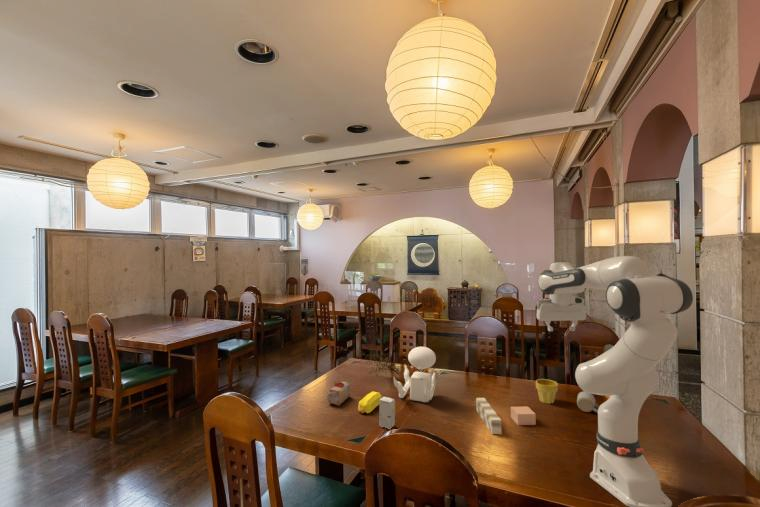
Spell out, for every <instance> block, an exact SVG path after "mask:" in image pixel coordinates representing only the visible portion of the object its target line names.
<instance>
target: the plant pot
mask: <svg viewBox="0 0 760 507" xmlns="http://www.w3.org/2000/svg"><path fill="white" fill-rule="evenodd" d="M535 389H537V394H538V399H539V401H540V402H541V403H543V404H547V405H548V404H551V403H552V404H554V403H555V399H556V394H557V392H558V389H559V384H558V382H557V381H556V380H555V381H554V380H551V379H545V378H538V379H536V380H535ZM552 404H551V405H552Z"/></svg>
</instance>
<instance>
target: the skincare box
mask: <svg viewBox="0 0 760 507" xmlns="http://www.w3.org/2000/svg"><path fill="white" fill-rule="evenodd" d="M378 406H379V407H378V409H379V410H378V412H379V413H378V414H379V415H378V416H379V418H378V424H379V425H378V426H380V428H383V427H385V428H384V429H386V428H387V429H386V430H392V429H393V428H394V427H395V426H394V425H396V424H395V423H396V421H395V419H396V399H394V398H392V397H388V396H382V398H381V399H380V400H379V405H378ZM393 426H394V427H393ZM392 427H393V428H392ZM391 428H392V429H391Z"/></svg>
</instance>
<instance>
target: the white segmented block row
mask: <svg viewBox="0 0 760 507" xmlns="http://www.w3.org/2000/svg"><path fill="white" fill-rule="evenodd" d="M475 404H476V405H475V410H476V412H477V414H478V415H479V416H480V417H479V418H480V419H481V420H482V421H483V423H484V424H485V426H486V427H487V429H488V431H489V433H490V434H491V435H492V434H500V435H502V434H503V433H502V419H501V417H499V415H498V414H497V412H496V411H495V410H494V408H493V407H492V406H491V404H490V403H489V402H488V401H487V399H486V398H485V397H475Z"/></svg>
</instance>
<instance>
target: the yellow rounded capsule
mask: <svg viewBox="0 0 760 507" xmlns="http://www.w3.org/2000/svg"><path fill="white" fill-rule="evenodd" d="M382 397H383V396H382V394H381V393H380V392H379V391H378V392H376V391H374V390H373V391H370V392H369V393H367V394H366V395H365V396H364V397H363V398H362V399H361V400H360V401H358V406H357V408H358V409H357V410H358V412H359V413H361V414H365V413H366V414H368V413H369V414H370V413H371V412H372V411H373V410H375V408H377V407H378V406H379V400H380V399H381V398H382Z"/></svg>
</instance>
